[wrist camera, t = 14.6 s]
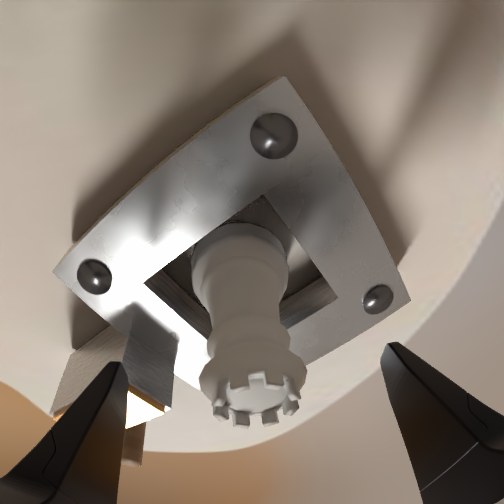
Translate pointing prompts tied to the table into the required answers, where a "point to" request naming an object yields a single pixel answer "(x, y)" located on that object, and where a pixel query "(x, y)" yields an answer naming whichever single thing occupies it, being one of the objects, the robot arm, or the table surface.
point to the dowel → (133, 445)
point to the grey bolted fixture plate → (207, 219)
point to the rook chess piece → (246, 325)
